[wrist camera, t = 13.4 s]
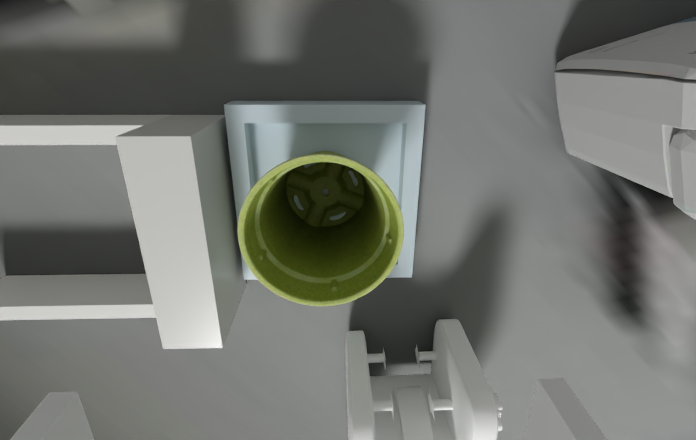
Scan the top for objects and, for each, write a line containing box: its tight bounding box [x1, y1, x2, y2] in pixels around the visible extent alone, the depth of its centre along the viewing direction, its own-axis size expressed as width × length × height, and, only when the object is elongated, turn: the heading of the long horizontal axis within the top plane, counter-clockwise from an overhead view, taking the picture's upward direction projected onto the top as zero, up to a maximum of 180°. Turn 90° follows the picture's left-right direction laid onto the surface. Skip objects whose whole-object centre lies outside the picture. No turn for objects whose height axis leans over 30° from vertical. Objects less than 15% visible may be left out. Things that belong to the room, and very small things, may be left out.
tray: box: [224, 101, 426, 280], centre depth 30 cm, size 13×13×2 cm
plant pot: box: [237, 151, 404, 306], centre depth 26 cm, size 9×9×9 cm
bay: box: [0, 115, 246, 349], centre depth 27 cm, size 20×14×8 cm
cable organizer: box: [346, 319, 502, 440], centre depth 33 cm, size 15×11×12 cm
